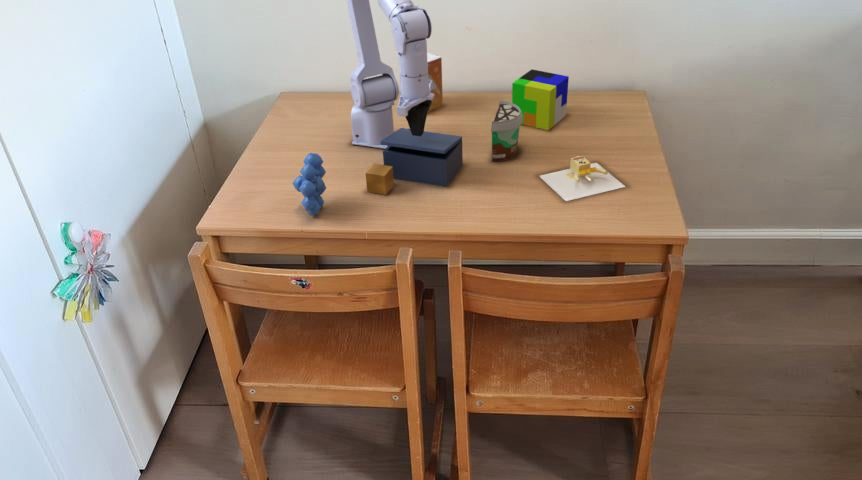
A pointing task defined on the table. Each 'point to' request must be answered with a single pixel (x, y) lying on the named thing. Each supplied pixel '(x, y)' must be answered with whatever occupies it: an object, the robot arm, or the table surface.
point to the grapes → (311, 183)
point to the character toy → (581, 180)
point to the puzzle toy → (541, 98)
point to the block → (379, 179)
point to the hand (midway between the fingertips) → (417, 134)
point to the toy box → (424, 164)
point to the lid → (422, 141)
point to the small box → (435, 79)
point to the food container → (505, 131)
